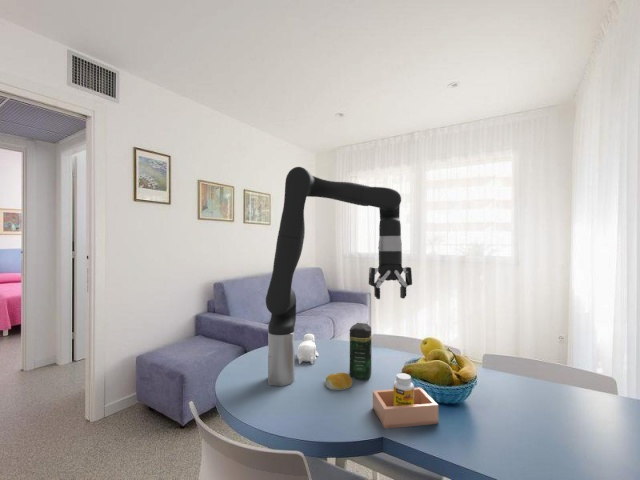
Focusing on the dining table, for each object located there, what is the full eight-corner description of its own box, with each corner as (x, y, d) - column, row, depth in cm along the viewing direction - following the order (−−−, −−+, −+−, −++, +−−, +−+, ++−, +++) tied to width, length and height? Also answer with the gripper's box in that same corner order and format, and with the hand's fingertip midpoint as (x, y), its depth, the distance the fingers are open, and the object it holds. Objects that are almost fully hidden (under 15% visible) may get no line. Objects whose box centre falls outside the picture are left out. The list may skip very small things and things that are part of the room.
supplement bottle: (392, 416, 83) (392, 378, 83) (394, 405, 88) (393, 370, 88) (414, 419, 81) (413, 381, 81) (414, 408, 86) (413, 373, 86)
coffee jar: (370, 382, 105) (369, 329, 105) (347, 379, 107) (347, 327, 107) (373, 371, 114) (372, 322, 114) (352, 368, 116) (352, 320, 116)
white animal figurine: (316, 370, 122) (319, 345, 136) (316, 353, 119) (318, 329, 133) (296, 369, 123) (300, 344, 137) (294, 353, 120) (299, 329, 134)
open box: (384, 428, 78) (384, 409, 78) (372, 407, 88) (372, 390, 88) (438, 423, 80) (438, 404, 80) (421, 404, 90) (420, 387, 90)
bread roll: (356, 387, 102) (356, 375, 102) (333, 393, 97) (333, 381, 97) (343, 377, 109) (343, 366, 109) (321, 383, 105) (321, 371, 105)
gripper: (373, 250, 95) (373, 301, 95) (415, 249, 97) (415, 300, 97) (366, 249, 103) (366, 297, 103) (405, 249, 105) (406, 296, 105)
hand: (390, 298), depth 100 cm, fingers open, 8 cm apart
